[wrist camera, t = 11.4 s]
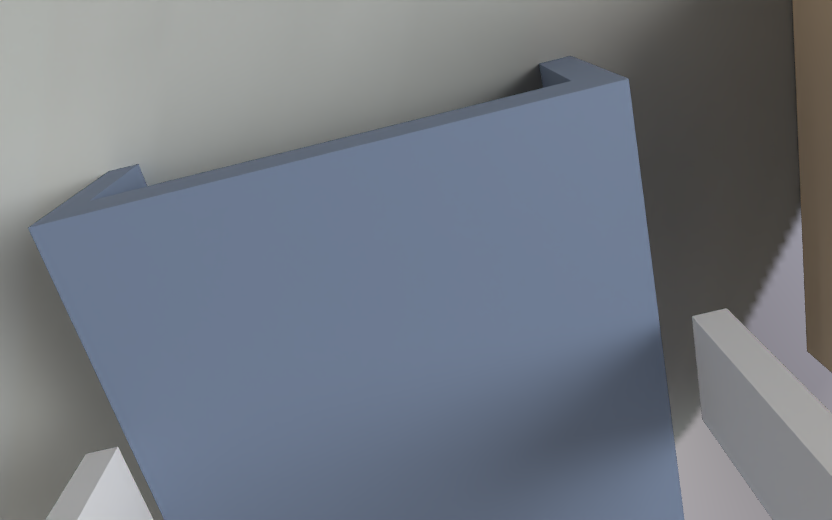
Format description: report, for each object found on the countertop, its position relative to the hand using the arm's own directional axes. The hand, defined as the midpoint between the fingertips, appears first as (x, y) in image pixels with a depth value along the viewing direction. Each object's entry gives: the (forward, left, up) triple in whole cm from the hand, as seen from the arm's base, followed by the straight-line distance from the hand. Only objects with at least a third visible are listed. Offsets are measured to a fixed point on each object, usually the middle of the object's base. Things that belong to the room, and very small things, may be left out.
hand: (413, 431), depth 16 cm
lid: (0, 0, -5) cm, 5 cm away
